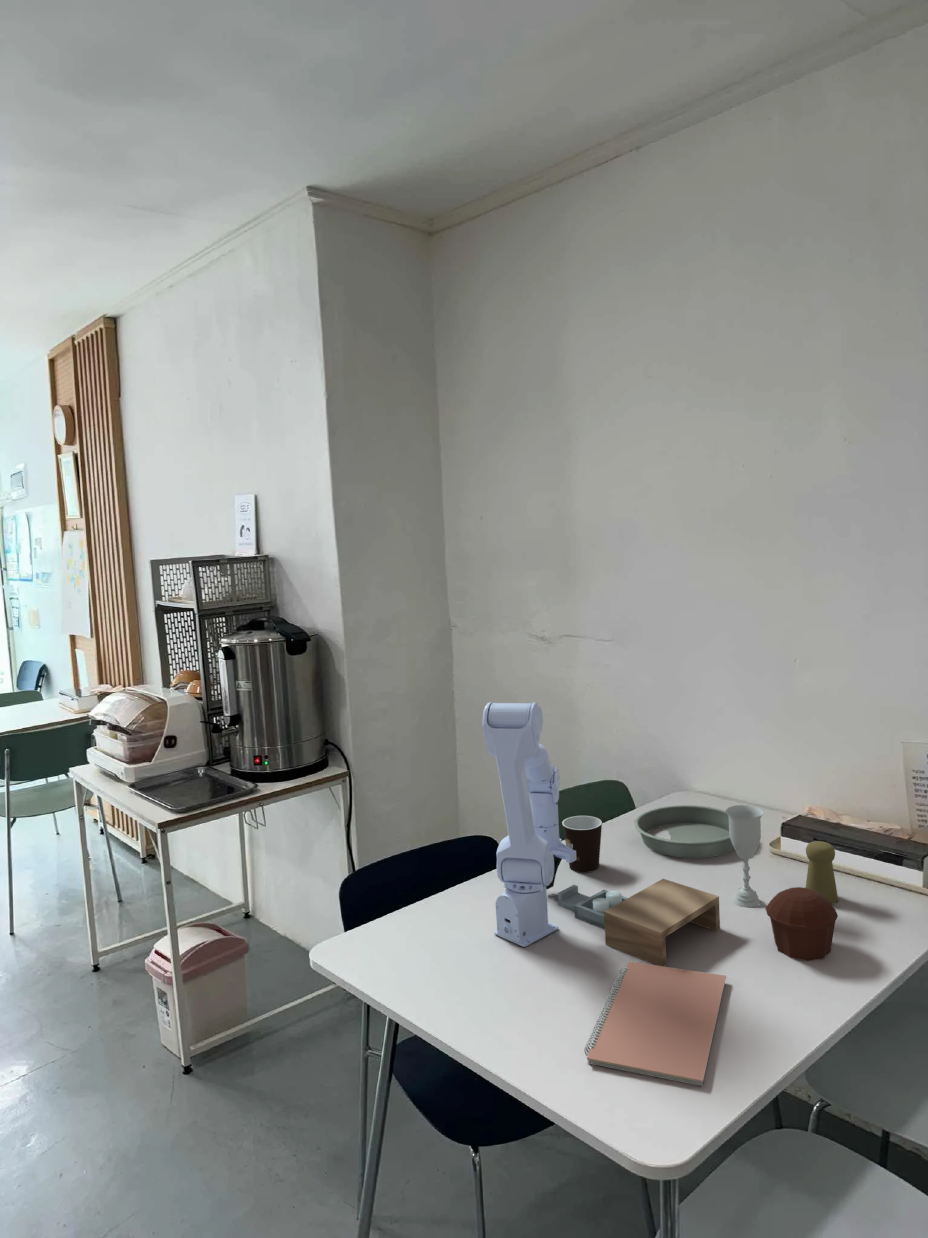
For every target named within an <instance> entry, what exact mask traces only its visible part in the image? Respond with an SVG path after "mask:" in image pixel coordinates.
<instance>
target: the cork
mask: <svg viewBox="0 0 928 1238" xmlns="http://www.w3.org/2000/svg"><path fill="white" fill-rule="evenodd" d="M835 850H836V849H835V848H834V846H833V845H832V844H830V843H829V842H827V841H826V842H825V841H821V840H813V841H811V842H809V843H808V844H807V846H806V847H805V854H806V857H807V859H808V863H807V865H808V866H807V873H806V881H805V888H808V889H812V890H814V891H817V892H818V893H820V894H821V895H823V896H824V897H826V898H827V899H828V900H829V901H830V902H831V903H832V905H833V906H834V905H835V904H837V903H838V902H839V896H838V890H837V884H836V877H835V872H834V865H833V861H834V860H835V857H836V851H835Z"/></svg>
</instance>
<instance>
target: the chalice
mask: <svg viewBox="0 0 928 1238" xmlns="http://www.w3.org/2000/svg"><path fill="white" fill-rule="evenodd" d="M725 811H726V813H727V815H728V817H729V836H730V839H731V842H732V845H733V847H734V849H733V850H735V852H736V854H737V856H738V857H739V858H740V859H742V862H743V864H742V867H741V869H742V871H743V874H742V875H741V878H742V880H743V885H742V886H741V887H739V888H738V889H737V890H736V893H735V895H734V897H733V903H734V904H736V905H738V906H740V907H743V908H754V907H758V906H759V905H761V900H760V898H759V895H758V894H757V893H758V892H757V891H756V890H755V888H753V887H751V886H750V883H749V882H750V880H751V875H750V874H749V872H750V870H751V867H750V866H749V859H752V858H754V855H755V854H756V852H757V850H758V847H759V844H760V842H761V839H762V836H761V835H762V834H761V833H762V830H761V827H762V825H761V823H762V822H761V818H762V816H763V814H764V812H763V810H762V809H761V808H759V807H756V806H753V805H745V804H740V805H739V804H738V805H737V804H735V805H732V806H729V807H727V808H726V809H725Z"/></svg>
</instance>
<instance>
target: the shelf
mask: <svg viewBox="0 0 928 1238" xmlns="http://www.w3.org/2000/svg"><path fill="white" fill-rule="evenodd" d="M604 922H605V929H604V936H605V937H604V938H605V939H604V940H605V941H604V942H605V945H606V946H607V947H611V948H612V949H615V950H618V951H620V952H623V953H625V954H627V955H630V956H632V957H635V958H637V959H640V960H642V961H645V962H646V963H650V964H651V965H657V966H664V967H667V949H666V948H667V946H666V943H667V942H666V937H667V936H669V935H671V934H673V933H674V932H675V931H677V930H678V929H680V928H681V927H684V926H685V925H687V924H688V923H692V924H695V925H697V926H701V927H704V928H706V929H708V930H709V929H710V930H712V931H715V932H717V931H719V930H720V929H721V917H720V896H719V895H716V894H714V893H713V894H712V893H710V892H706V891H705V890H704V891H703V890H701V889H697V888H694V887H690V886H687V885H685V884H683V883H682V884H681V883H679V882H675V881H672V880H668V879H666V878H661V879H660V880H658V881H656V882H654V883H653V884H651V885H649V886H647V887H646V888H644V889H642V890H640V891H638V892H636V893H635V894H633V895H631V896H629V897H627V899H626V900H624V901H622V902H620V903H619V904H617V905H615V906H613V907H611V908H610V909H608V910H606V911H604Z"/></svg>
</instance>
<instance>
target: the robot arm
mask: <svg viewBox="0 0 928 1238" xmlns="http://www.w3.org/2000/svg"><path fill="white" fill-rule="evenodd" d="M482 712H483V713H482V722H481V723H482V724H481V725H482V726H481V727H482V728H481V729H482V733H483V739H484V744H485V747H486V748H485V749H486V753H487V754H489V755H490V756H491V757H493V758H495V763H496V767H497V768H496V769H497V773H498V776H499V785H500V790H501V791H500V792H501V797H502V803H503V808H504V815H505V821H506V827H507V834H508V835H506V836H505V837H503V838H502V839H501V841H500V842H499V844H498V846H497V849H496V854H495V855H496V874H497V878H498V879H499V881H500V882H501V883H504V885H503V886H504V888H505V889H504V891H503V893H501V894H500V895H499V896H498V897H497V899H496V900H495V917H496V929H495V930H494V932H493V933H494V935H495V936H496V935H497V936H498V937H500V938H503V939H505V940H507V941H508V942H509V941H510V942H512V943H514V944H516V945H518V946H521V947H523V948H526V947H529V946H530V945H531V944H533V943H535V942H537V941H539V940H540V939H542V938H544V937H546V936H548V935H549V934H552V933H553V932H556V931H558V929H559V926H558V924H554V923H553V922H549V913H548V912H549V909H548V898H547V897H548V896H547V895H548V894H547V890H549V889H551V888H553V887H554V886H555V881H556V876H557V872H558V870H559V866H560V864H561V862H562V860H565V861H566V862H567V863H568V864H569V863H571V862H573V861H575V860H576V851H575V850H572V849H570V848H569V847H567V846H566V844H564V843H563V842H562V841H563V839H562V838H560V824H559V807H558V806H559V805H558V801H559V800H560V784H561V783H560V779H561V776H560V769H559V768H558V767H556V766H555V765H553V764H552V762H551V760H550V759H551V758H550V757H549V754H548V751H547V749H546V747H545V746H544V745H543V744H541V743H540V739H541V734H542V730H543V721H544V720H543V717H544V716H543V710H542V708H541V706H540V704H539V703H538V702H536V701H535V702H531V703H527V702H526V703H525V702H521V703H520V702H518V703H517V702H492V701H491V702H487V704H486V705H485V706H484V708H483V711H482Z"/></svg>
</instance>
